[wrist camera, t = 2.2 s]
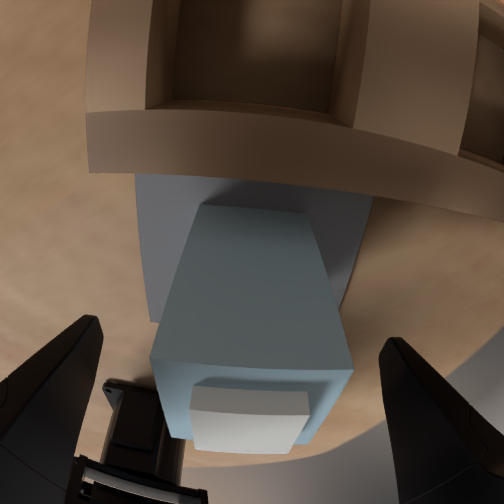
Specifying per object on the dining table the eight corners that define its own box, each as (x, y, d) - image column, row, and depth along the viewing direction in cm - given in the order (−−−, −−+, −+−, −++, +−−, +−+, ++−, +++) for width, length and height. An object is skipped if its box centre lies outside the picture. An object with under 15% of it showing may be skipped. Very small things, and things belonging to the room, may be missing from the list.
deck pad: (327, 329, 16) (328, 334, 15) (152, 316, 15) (150, 321, 15) (378, 158, 11) (382, 161, 10) (137, 134, 10) (133, 136, 10)
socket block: (511, 204, 11) (550, 237, 9) (125, 146, 10) (84, 176, 8) (542, 15, 5) (587, 20, 3) (154, -102, 5) (126, -139, 2)
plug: (289, 295, 14) (309, 461, 7) (198, 287, 13) (168, 454, 7) (307, 213, 12) (360, 393, 5) (199, 203, 11) (142, 382, 5)
